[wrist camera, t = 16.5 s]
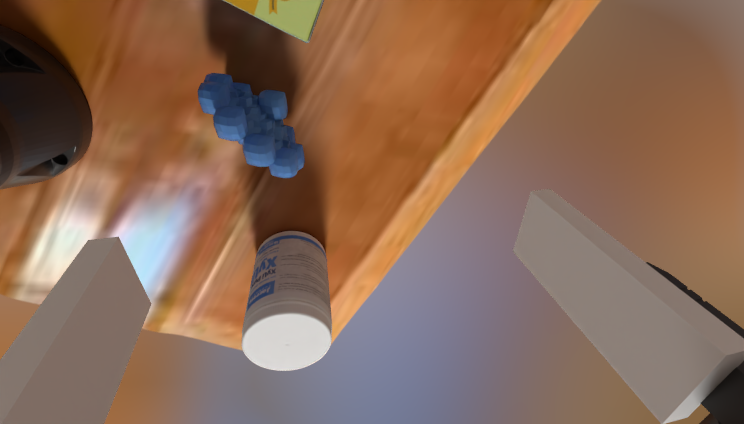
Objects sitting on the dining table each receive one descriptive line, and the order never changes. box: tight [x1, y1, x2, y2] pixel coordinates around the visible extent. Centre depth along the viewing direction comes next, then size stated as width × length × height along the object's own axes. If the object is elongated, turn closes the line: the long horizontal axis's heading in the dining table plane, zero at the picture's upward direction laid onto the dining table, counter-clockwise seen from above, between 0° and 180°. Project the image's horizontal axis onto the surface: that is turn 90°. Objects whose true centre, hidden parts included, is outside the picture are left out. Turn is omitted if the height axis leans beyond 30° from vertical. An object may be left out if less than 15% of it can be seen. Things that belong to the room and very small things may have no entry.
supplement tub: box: [242, 231, 332, 371], centre depth 43 cm, size 10×10×15 cm
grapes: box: [198, 73, 305, 178], centre depth 33 cm, size 12×7×12 cm, turn 43°
